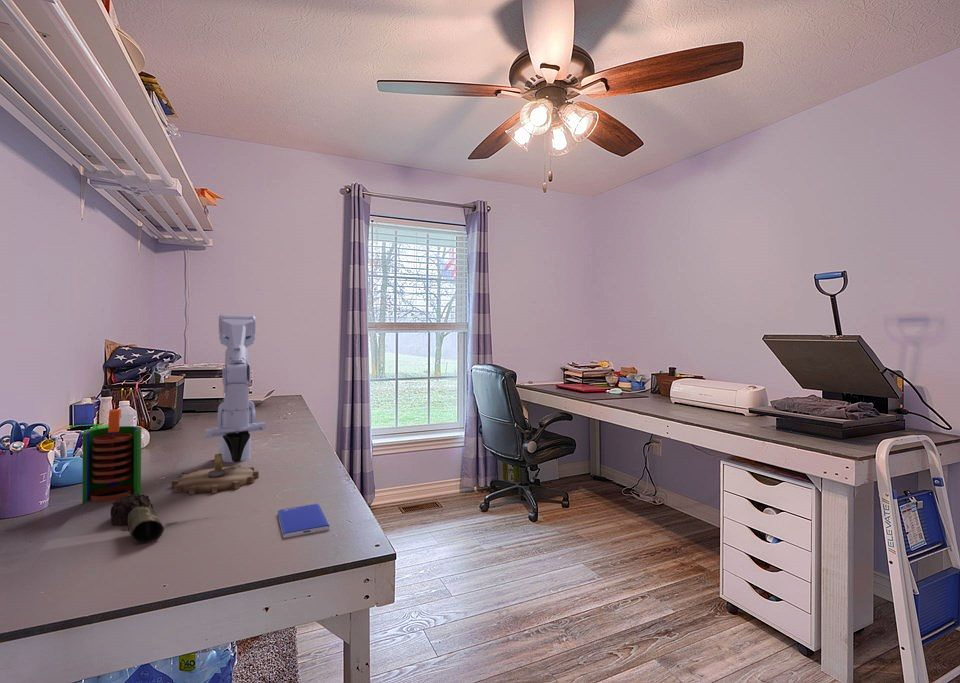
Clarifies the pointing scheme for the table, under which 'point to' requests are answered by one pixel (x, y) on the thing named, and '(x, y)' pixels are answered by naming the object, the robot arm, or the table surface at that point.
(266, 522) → the table surface
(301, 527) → the hard drive
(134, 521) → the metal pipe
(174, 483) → the sprocket
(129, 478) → the motor
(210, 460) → the table surface
